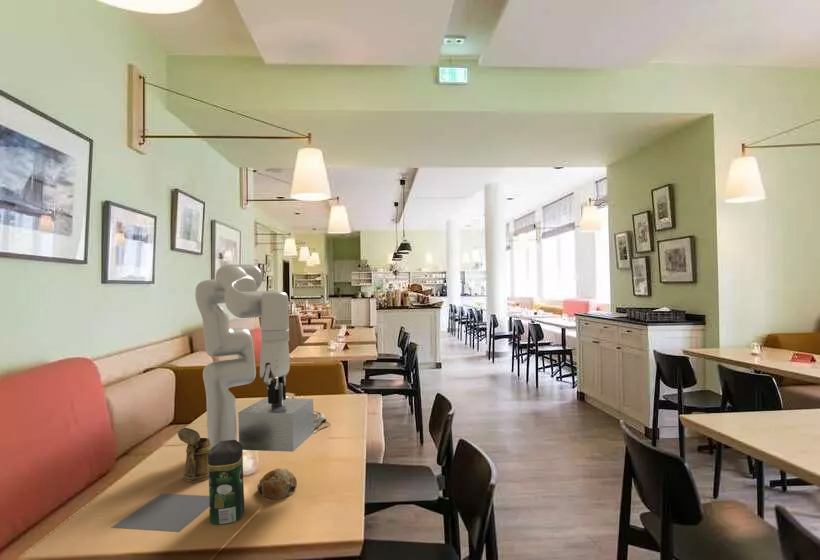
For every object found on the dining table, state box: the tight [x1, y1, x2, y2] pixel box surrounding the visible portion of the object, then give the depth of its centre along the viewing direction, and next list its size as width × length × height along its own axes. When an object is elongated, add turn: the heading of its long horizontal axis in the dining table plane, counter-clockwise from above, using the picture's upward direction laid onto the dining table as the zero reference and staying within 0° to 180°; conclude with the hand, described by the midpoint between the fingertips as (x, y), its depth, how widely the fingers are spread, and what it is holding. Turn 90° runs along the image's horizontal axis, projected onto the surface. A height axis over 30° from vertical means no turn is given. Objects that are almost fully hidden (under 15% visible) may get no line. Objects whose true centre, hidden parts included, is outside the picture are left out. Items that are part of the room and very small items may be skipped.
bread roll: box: [256, 468, 298, 500], centre depth 133 cm, size 10×10×8 cm
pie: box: [313, 410, 331, 434], centre depth 193 cm, size 28×27×5 cm
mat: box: [110, 492, 210, 533], centre depth 122 cm, size 18×18×1 cm
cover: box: [237, 383, 315, 453], centre depth 133 cm, size 15×15×16 cm
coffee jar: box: [208, 440, 245, 526], centre depth 119 cm, size 10×8×19 cm
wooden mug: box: [177, 427, 211, 484], centre depth 141 cm, size 9×14×18 cm, turn 1°
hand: (277, 400), depth 133 cm, fingers closed on cover, 3 cm apart
